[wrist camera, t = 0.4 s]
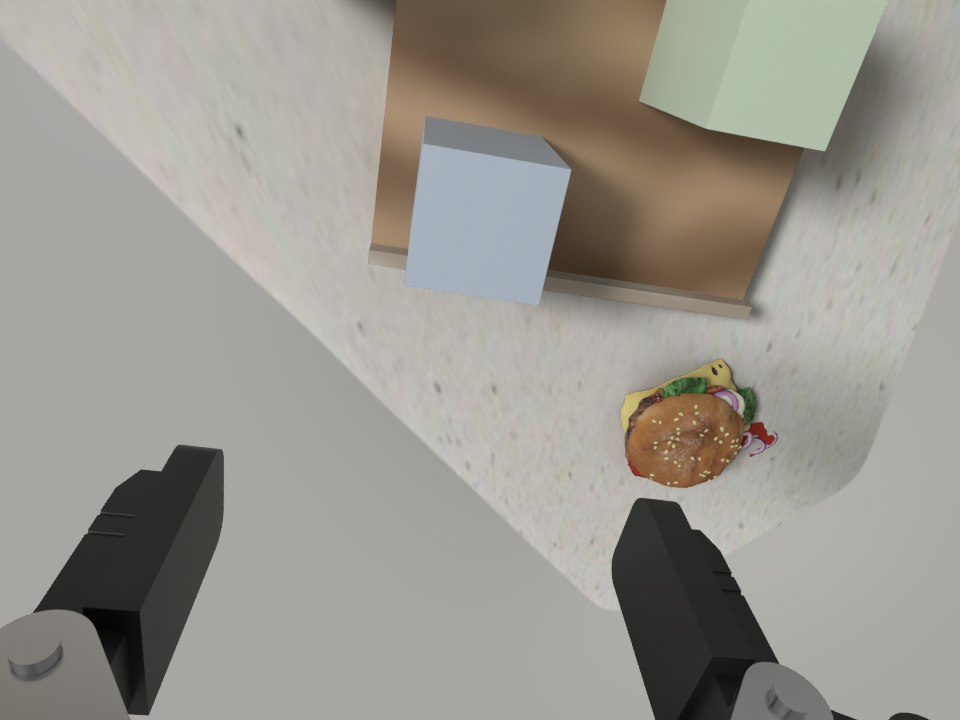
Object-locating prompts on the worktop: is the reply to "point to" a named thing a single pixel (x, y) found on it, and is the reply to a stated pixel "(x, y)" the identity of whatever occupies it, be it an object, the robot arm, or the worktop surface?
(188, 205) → the worktop surface
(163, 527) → the robot arm
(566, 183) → the box
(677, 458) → the hamburger
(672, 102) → the tea box
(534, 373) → the worktop surface
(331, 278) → the worktop surface
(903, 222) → the worktop surface
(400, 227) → the wooden slab
